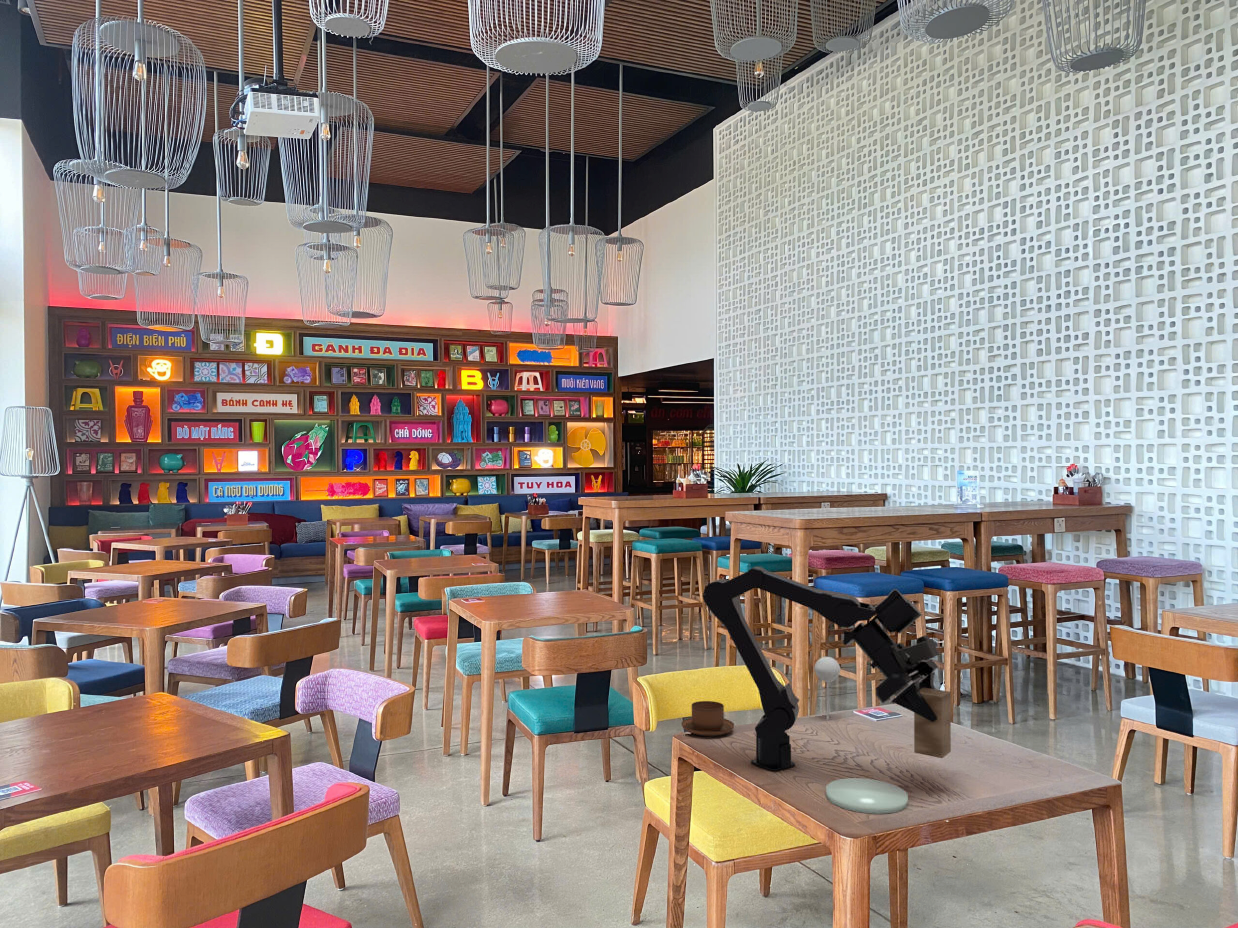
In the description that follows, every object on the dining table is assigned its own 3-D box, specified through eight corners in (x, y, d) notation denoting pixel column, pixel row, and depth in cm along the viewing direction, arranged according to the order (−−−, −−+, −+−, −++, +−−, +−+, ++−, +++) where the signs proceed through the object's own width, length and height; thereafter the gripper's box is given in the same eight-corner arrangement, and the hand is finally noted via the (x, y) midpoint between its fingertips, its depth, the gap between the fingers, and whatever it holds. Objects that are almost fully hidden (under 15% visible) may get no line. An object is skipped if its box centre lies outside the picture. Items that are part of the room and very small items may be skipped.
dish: (809, 795, 149) (809, 788, 149) (858, 779, 157) (858, 772, 157) (875, 820, 138) (875, 812, 138) (924, 801, 146) (924, 794, 146)
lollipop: (822, 723, 195) (821, 659, 195) (810, 717, 201) (809, 655, 201) (845, 721, 197) (845, 658, 197) (832, 715, 202) (832, 653, 203)
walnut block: (914, 752, 152) (914, 692, 152) (923, 746, 156) (923, 687, 156) (942, 758, 149) (941, 696, 149) (950, 751, 153) (950, 691, 153)
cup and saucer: (672, 728, 192) (672, 701, 192) (716, 722, 197) (716, 696, 197) (698, 742, 181) (698, 714, 181) (744, 735, 186) (744, 708, 186)
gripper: (892, 629, 148) (956, 701, 141) (927, 616, 163) (986, 681, 156) (850, 667, 153) (910, 738, 146) (887, 651, 168) (944, 716, 160)
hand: (940, 717), depth 152 cm, fingers closed on walnut block, 5 cm apart
